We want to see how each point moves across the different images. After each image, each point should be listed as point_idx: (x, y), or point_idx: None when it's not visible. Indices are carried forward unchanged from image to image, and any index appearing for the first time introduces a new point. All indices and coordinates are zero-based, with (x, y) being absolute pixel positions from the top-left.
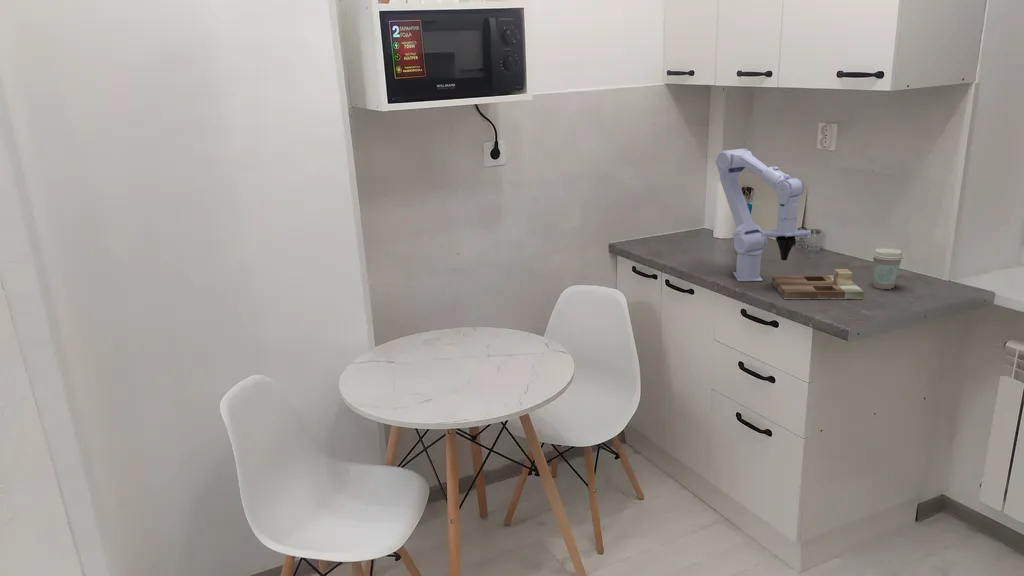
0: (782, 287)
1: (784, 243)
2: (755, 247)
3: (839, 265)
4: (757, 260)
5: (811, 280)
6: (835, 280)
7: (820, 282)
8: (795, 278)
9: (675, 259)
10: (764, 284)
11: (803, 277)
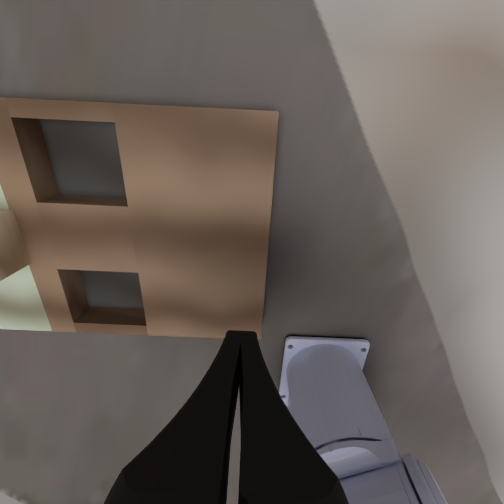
0: (269, 191)
1: (267, 460)
2: (353, 494)
3: (28, 440)
4: (322, 415)
5: (120, 314)
6: (11, 244)
7: (85, 252)
8: (180, 306)
9: (444, 495)
10: (290, 309)
11: (147, 315)
